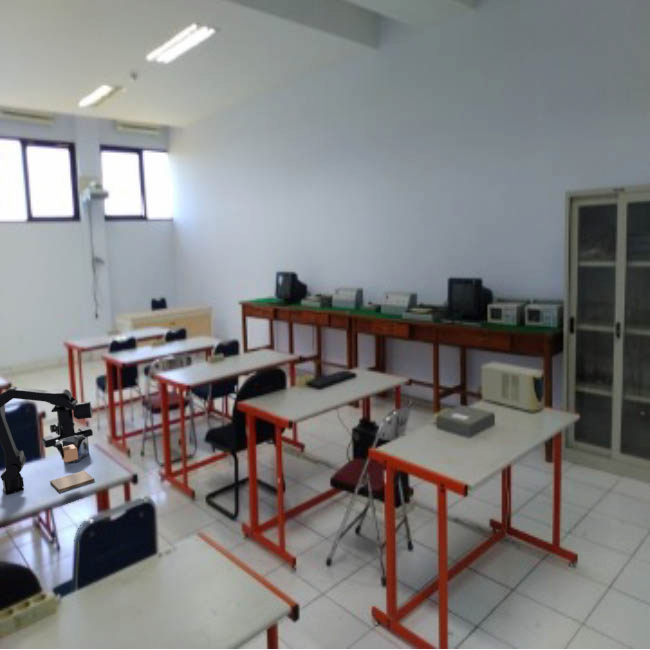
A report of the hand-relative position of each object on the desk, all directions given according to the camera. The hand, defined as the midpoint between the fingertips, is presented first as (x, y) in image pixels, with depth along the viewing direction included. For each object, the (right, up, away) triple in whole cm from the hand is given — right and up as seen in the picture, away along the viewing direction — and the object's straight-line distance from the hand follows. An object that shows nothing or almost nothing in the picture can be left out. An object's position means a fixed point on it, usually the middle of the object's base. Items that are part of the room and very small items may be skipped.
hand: (69, 456), depth 232 cm
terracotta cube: (0, -1, 0) cm, 1 cm away
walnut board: (0, -11, +2) cm, 12 cm away
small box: (-8, -7, +26) cm, 28 cm away
